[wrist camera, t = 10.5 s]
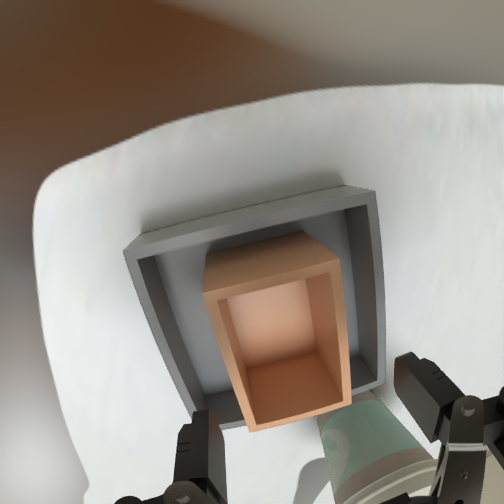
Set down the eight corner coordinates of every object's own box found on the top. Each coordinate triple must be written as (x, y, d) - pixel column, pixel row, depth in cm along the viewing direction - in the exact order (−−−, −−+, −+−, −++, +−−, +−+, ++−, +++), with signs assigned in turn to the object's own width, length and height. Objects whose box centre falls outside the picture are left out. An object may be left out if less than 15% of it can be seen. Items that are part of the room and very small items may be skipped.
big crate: (345, 185, 19) (375, 190, 15) (363, 354, 23) (384, 383, 19) (140, 234, 18) (122, 251, 15) (200, 397, 22) (199, 433, 18)
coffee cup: (310, 382, 23) (363, 505, 11) (400, 369, 24) (474, 461, 12) (296, 447, 25) (328, 551, 14) (375, 433, 26) (423, 519, 15)
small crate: (302, 230, 19) (339, 258, 13) (322, 350, 21) (351, 403, 16) (206, 253, 19) (202, 292, 13) (241, 371, 21) (249, 432, 15)
